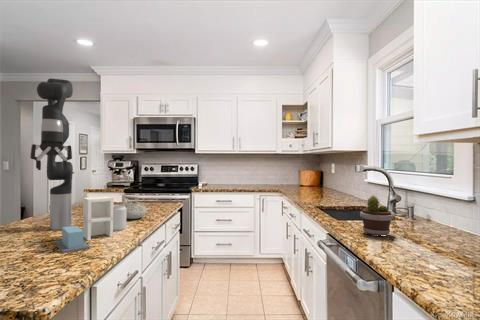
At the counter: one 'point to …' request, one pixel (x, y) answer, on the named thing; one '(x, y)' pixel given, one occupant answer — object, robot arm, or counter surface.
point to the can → (119, 217)
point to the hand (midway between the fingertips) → (51, 169)
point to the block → (72, 237)
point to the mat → (66, 250)
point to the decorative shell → (134, 209)
